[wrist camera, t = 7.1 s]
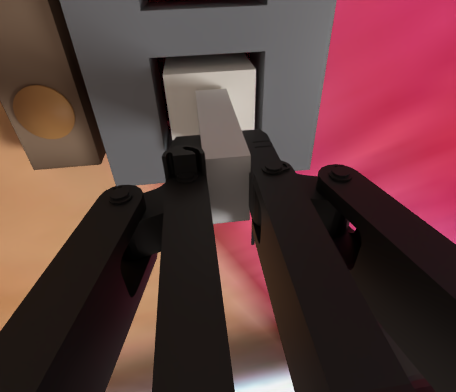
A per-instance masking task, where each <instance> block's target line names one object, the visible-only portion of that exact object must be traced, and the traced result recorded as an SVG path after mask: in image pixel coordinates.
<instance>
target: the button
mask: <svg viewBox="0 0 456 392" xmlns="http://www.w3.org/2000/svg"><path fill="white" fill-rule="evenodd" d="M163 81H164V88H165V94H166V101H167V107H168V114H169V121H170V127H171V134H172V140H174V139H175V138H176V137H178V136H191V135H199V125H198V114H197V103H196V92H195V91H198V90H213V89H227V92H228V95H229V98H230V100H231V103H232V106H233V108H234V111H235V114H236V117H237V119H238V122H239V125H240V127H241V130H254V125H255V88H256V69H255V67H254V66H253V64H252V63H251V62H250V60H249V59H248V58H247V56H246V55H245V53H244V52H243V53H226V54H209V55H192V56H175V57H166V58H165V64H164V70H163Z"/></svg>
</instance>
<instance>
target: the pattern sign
mask: <svg viewBox="0 0 456 392" xmlns="http://www.w3.org/2000/svg"><path fill="white" fill-rule="evenodd" d="M0 101H1V103H2V105H3V107H4V109H5V111H6V114H7V116H8V118H9V120H10V122H11V124H12V126H13V128H14V130H15V132H16V134H17V136H18V138H19V140H20V142H21V144H22V146H23V148H24V151H25V153H26V155H27V157H28V159H29V161H30V163H31V165H32V167H33V169H34V170H40V169H52V168H64V167H75V166H87V165H99V164H101V163H102V160H103V158H104V156H105V153H106V151H105V148H104V144H103V141H102V138H101V135H100V131H99V128H98V125H97V122H96V118H95V115H94V112H93V108H92V105H91V102H90V99H89V95H88V92H87V89H86V86H85V82H84V79H83V76H82V72H81V69H80V66H79V63H78V59H77V56H76V53H75V49H74V46H73V43H72V40H71V36H70V33H69V30H68V27H67V23H66V20H65V17H64V13H63V10H62V7H61V4H60V0H0Z"/></svg>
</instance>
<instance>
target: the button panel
mask: <svg viewBox="0 0 456 392" xmlns="http://www.w3.org/2000/svg"><path fill="white" fill-rule="evenodd" d="M60 4H61V7H62V10H63V13H64V17H65V20H66V23H67V27H68V30H69V33H70V36H71V40H72V43H73V46H74V49H75V53H76V56H77V59H78V63H79V66H80V69H81V72H82V76H83V79H84V82H85V86H86V89H87V92H88V95H89V99H90V102H91V105H92V108H93V112H94V115H95V118H96V122H97V125H98V128H99V131H100V135H101V138H102V141H103V144H104V148H105V151H106V154H107V158H108V161H109V164H110V167H111V171H112V174H113V177H114V181H115V184H116V186H118V185H145V184H156V183H165V181H166V179H165V173H164V168H163V162H162V155H163V153H164V152H165V151H166V150H168V149H170V148H171V142H172V141H173V140H172V134H171V131H168V125H167V119H166V112H165V106H164V99H163V93H162V87H161V80H160V74H159V68H158V61H157V57H175V56H192V55H209V54H226V53H243V52H250V62H251V63H252V64H253V66H254V67H255V69H256V88H255V125H254V130H255V129H260V130H262V131H263V132H265V133H266V134H267V135H268V137H269V139H270V141H271V142H272V144H273V146H274V148H275V150H276V152H277V154H278V156H279V158H280V160H281V161H285V162H287V163H289V164H290V165H291V166H292V167H293V169H294V171H298V170H309V169H310V164H311V158H312V151H313V145H314V139H315V133H316V126H317V120H318V114H319V107H320V101H321V95H322V89H323V82H324V76H325V70H326V63H327V57H328V51H329V45H330V38H331V32H332V26H333V19H334V13H335V7H336V0H190V1H167V2H148V0H60Z"/></svg>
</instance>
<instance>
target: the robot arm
mask: <svg viewBox="0 0 456 392" xmlns="http://www.w3.org/2000/svg"><path fill="white" fill-rule="evenodd" d="M195 92H196V103H197V114H198V125H199V135H191V136H178V137H176V138H175V139H174V140H173V141H172V142H171V148H170V149H168V150H166V151H165V152H164V153H163V155H162V162H163V168H164V173H165V179H166V181H165V184H163V185H162V186H161V187H159V188H157V189H154V190H152V191H148V192H145V193H143V192H142V190H141V189H140V188H139V187H137V186H134V185H118V186H115V187H112V188H110V189H108V190H106V191H104V192H103V193H102V194H101V195H100V196H99V198H98V199H97V200H96V202H95V203H94V204H93V206H92V207H91V208H90V210H89V211H88V213H87V214H86V215H85V217H84V218H83V219H82V221H81V222H80V223H79V225H78V226H77V228H76V229H75V230H74V232H73V233H72V234H71V236H70V237H69V238H68V240H67V241H66V243H65V244H64V245H63V247H62V248H61V249H60V251H59V252H58V253H57V255H56V256H55V258H54V259H53V260H52V262H51V263H50V264H49V266H48V267H47V268H46V270H45V271H44V273H43V274H42V275H41V277H40V278H39V279H38V281H37V282H36V283H35V285H34V286H33V288H32V289H31V290H30V292H29V293H28V294H27V296H26V297H25V298H24V300H23V301H22V303H21V304H20V305H19V307H18V308H17V309H16V311H15V312H14V313H13V315H12V316H11V318H10V319H9V320H8V322H7V323H6V324H5V326H4V327H3V328H2V330H1V331H0V392H105V391H106V388H107V385H108V383H109V380H110V378H111V375H112V372H113V370H114V367H115V365H116V362H117V360H118V357H119V354H120V352H121V349H122V347H123V344H124V342H125V339H126V336H127V334H128V331H129V329H130V326H131V323H132V321H133V318H134V316H135V313H136V311H137V308H138V305H139V303H140V300H141V298H142V295H143V292H144V290H145V287H146V285H147V282H148V280H149V277H150V274H151V272H152V269H153V267H154V264H155V262H156V259H157V253H158V252H161V259H160V275H159V290H158V306H157V322H156V337H155V353H154V369H153V384H152V392H235V390H234V382H233V374H232V366H231V359H230V351H229V343H228V336H227V328H226V320H225V312H224V305H223V297H222V289H221V282H220V274H219V266H218V259H217V251H216V243H215V235H214V228H213V224H216V223H225V222H235V221H245V220H249V219H250V213H251V216H252V239H251V245H254V242H255V244H256V247H257V251H258V255H259V259H260V263H261V266H262V270H263V274H264V278H265V281H266V285H267V289H268V293H269V296H270V300H271V304H272V308H273V312H274V315H275V319H276V323H277V327H278V330H279V334H280V338H281V342H282V346H283V349H284V353H285V357H286V361H287V364H288V368H289V372H290V376H291V379H292V383H293V387H294V391H295V392H456V244H454V243H453V242H452V241H450V240H449V239H448V238H446V237H445V236H444V235H442V234H441V233H440V232H438V231H437V230H436V229H434V228H433V227H432V226H430V225H429V224H427V223H426V222H425V221H423V220H422V219H421V218H419V217H418V216H417V215H415V214H414V213H413V212H411V211H410V210H409V209H407V208H406V207H405V206H403V205H402V204H401V203H399V202H398V201H397V200H395V199H394V198H393V197H391V196H390V195H389V194H387V193H386V192H385V191H383V190H382V189H381V188H379V187H378V186H377V185H375V184H374V183H372V182H371V181H370V180H368V179H367V178H366V177H364V176H363V175H362V174H360V173H359V172H358V171H356V170H354V169H353V168H351V167H347V166H344V165H338V164H334V165H327V166H324V167H322V168H321V169H320V170H319V172H318V177H317V176H307V175H300V174H297V173H295V171H294V169H293V167H292V166H291V165H290V164H289V163H287V162H285V161H281V160H280V158H279V156H278V154H277V152H276V150H275V148H274V146H273V144H272V142H271V141H270V139H269V137H268V135H267V134H266V133H265V132H263V131H262V130H260V129H255V130H241V127H240V125H239V122H238V119H237V117H236V114H235V111H234V108H233V106H232V103H231V100H230V98H229V95H228V92H227V89H213V90H198V91H195ZM350 222H351V223H352V224H353V225H354V226H355V227H356V230H355V231H354V230H353V229H351V228H350V227H349V223H350Z"/></svg>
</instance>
